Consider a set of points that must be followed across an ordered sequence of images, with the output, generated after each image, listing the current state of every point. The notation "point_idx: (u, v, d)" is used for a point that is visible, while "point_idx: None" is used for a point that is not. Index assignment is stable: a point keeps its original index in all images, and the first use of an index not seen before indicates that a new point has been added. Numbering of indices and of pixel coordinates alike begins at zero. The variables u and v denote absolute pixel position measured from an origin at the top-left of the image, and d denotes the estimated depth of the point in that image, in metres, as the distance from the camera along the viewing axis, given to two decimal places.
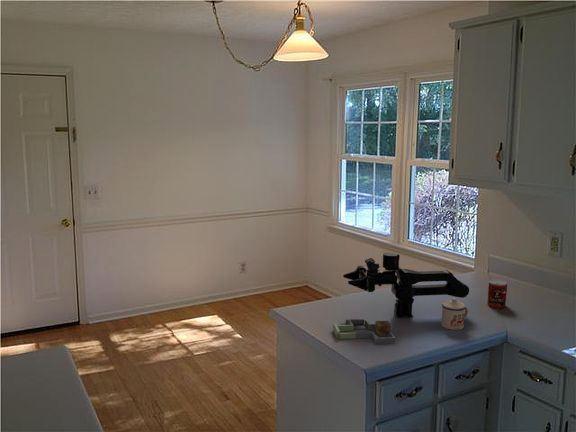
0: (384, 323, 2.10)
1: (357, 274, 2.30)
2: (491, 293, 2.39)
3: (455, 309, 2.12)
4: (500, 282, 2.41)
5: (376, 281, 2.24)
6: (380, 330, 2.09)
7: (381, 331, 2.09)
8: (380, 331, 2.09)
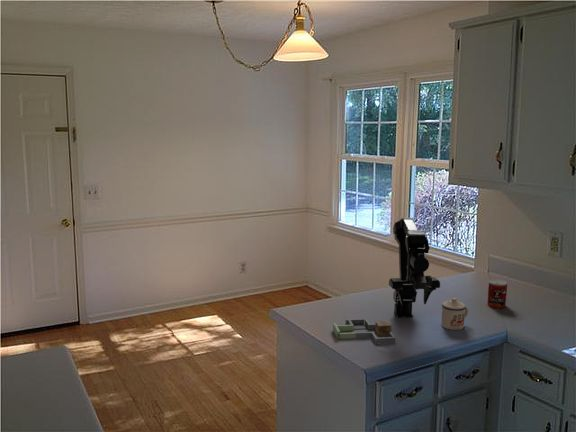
0: (384, 323, 2.10)
1: None
2: (491, 293, 2.39)
3: (455, 309, 2.12)
4: (500, 282, 2.41)
5: None
6: (380, 330, 2.09)
7: (381, 331, 2.09)
8: (380, 331, 2.09)
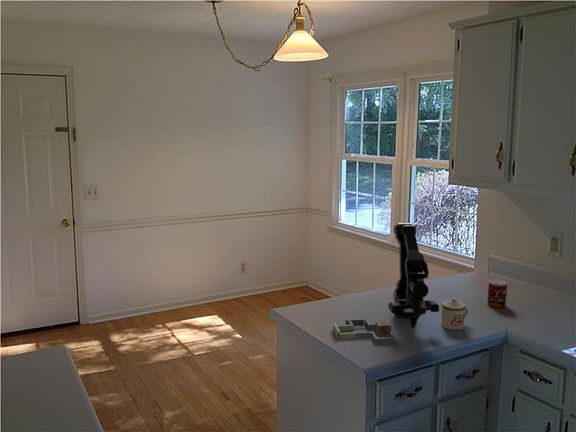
0: (384, 323, 2.10)
1: None
2: (491, 293, 2.39)
3: (455, 309, 2.12)
4: (500, 282, 2.41)
5: None
6: (380, 330, 2.09)
7: (381, 331, 2.09)
8: (380, 331, 2.09)
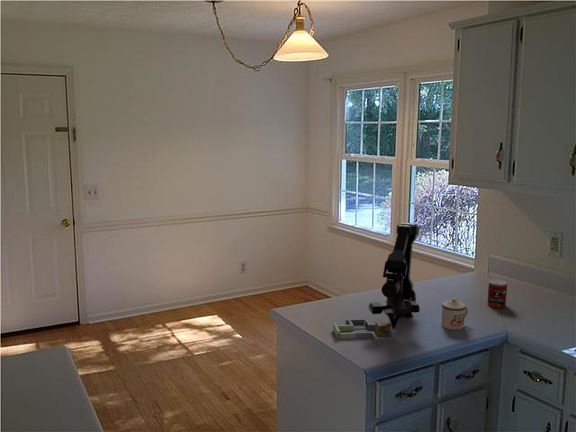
0: (384, 323, 2.10)
1: None
2: (491, 293, 2.39)
3: (455, 309, 2.12)
4: (500, 282, 2.41)
5: None
6: (380, 330, 2.09)
7: (381, 331, 2.09)
8: (380, 331, 2.09)
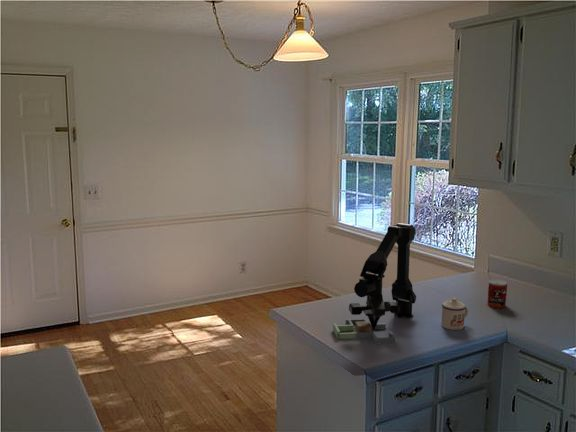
0: (364, 324, 2.09)
1: None
2: (491, 293, 2.39)
3: (455, 309, 2.12)
4: (500, 282, 2.41)
5: None
6: (360, 331, 2.08)
7: (361, 331, 2.08)
8: (360, 331, 2.08)
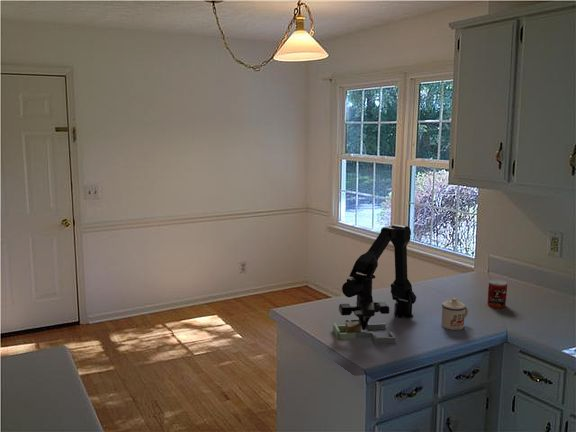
0: (354, 324, 2.09)
1: None
2: (491, 293, 2.39)
3: (455, 309, 2.12)
4: (500, 282, 2.41)
5: None
6: (350, 331, 2.07)
7: (351, 332, 2.07)
8: (349, 332, 2.07)
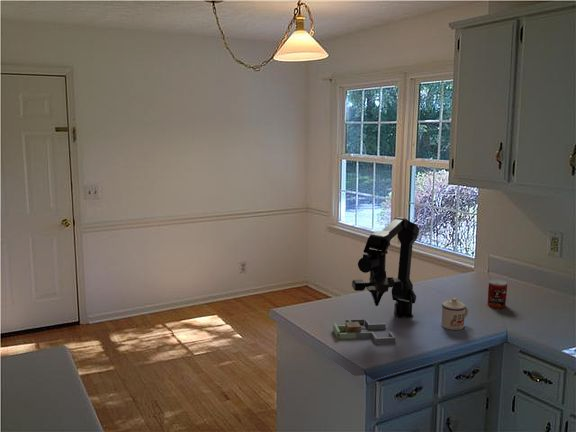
0: (354, 324, 2.09)
1: None
2: (491, 293, 2.39)
3: (455, 309, 2.12)
4: (500, 282, 2.41)
5: None
6: (349, 331, 2.07)
7: (350, 332, 2.07)
8: (349, 332, 2.07)
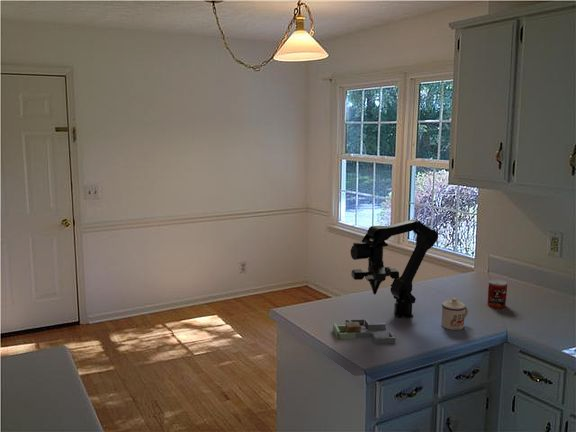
0: (354, 324, 2.09)
1: None
2: (491, 293, 2.39)
3: (455, 309, 2.12)
4: (500, 282, 2.41)
5: None
6: (349, 331, 2.07)
7: (350, 332, 2.07)
8: (349, 332, 2.07)
